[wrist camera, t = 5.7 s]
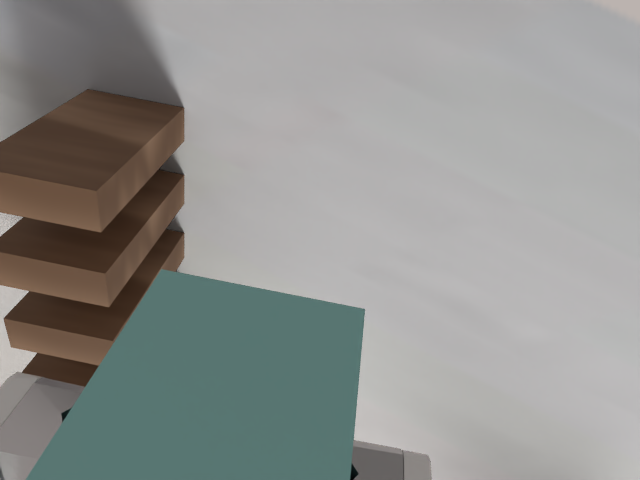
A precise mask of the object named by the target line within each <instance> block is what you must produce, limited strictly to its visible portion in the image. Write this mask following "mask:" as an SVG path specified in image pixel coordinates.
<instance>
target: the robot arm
mask: <svg viewBox="0 0 640 480" xmlns="http://www.w3.org/2000/svg"><path fill="white" fill-rule="evenodd" d="M84 388H85V386H80V385H76V384H71V383H66V382H62V381H57V380H53V379H48V378H44V377H40V376H35V375H30V374H25V373H20V372H16V373H15V374H13V375H12V376H10V377H9V378H8V379H7V380H6V381H5V382H4V383H3V385H2V386H1V387H0V480H26V478H27V477H28V475H29V474H30V472H31V470H32V469H33V467H34V466H35V464H36V463H37V461H38V460H39V458H40V456H41V455H42V453H43V452H44V450H45V449H46V447H47V446H48V444H49V443H50V441H51V439H52V438H53V436H54V435H55V433H56V432H57V430H58V429H59V427H60V425H61V424H62V422H63V421H64V419H65V418H66V416H67V415H68V413H69V412H70V410H71V408H72V407H73V405H74V404H75V402H76V401H77V399H78V398H79V396H80V394H81V393H82V391H83V390H84ZM350 480H432V477H431V461H430V459H429V456H428V455H426V454H421V453H415V452H410V451H404V450H401V449H399V448H393V447H388V446H383V445H377V444H372V443H366V442H361V441H356V440H354V441H353V452H352V464H351V475H350Z"/></svg>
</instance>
